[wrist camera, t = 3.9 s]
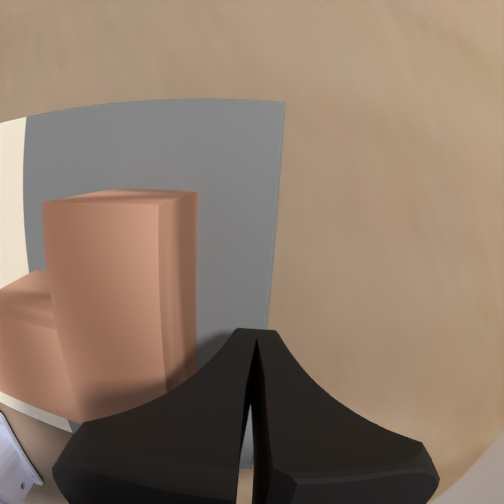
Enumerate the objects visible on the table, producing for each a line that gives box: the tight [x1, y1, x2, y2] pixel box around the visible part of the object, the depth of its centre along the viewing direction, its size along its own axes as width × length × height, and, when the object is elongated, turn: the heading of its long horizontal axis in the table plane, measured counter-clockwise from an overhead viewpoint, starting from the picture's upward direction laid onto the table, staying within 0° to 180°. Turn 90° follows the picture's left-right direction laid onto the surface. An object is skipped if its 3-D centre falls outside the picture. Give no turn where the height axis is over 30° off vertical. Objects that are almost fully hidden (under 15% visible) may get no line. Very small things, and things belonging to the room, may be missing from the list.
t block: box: [0, 189, 199, 424], centre depth 9 cm, size 7×10×4 cm
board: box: [0, 99, 285, 468], centre depth 12 cm, size 16×20×1 cm
